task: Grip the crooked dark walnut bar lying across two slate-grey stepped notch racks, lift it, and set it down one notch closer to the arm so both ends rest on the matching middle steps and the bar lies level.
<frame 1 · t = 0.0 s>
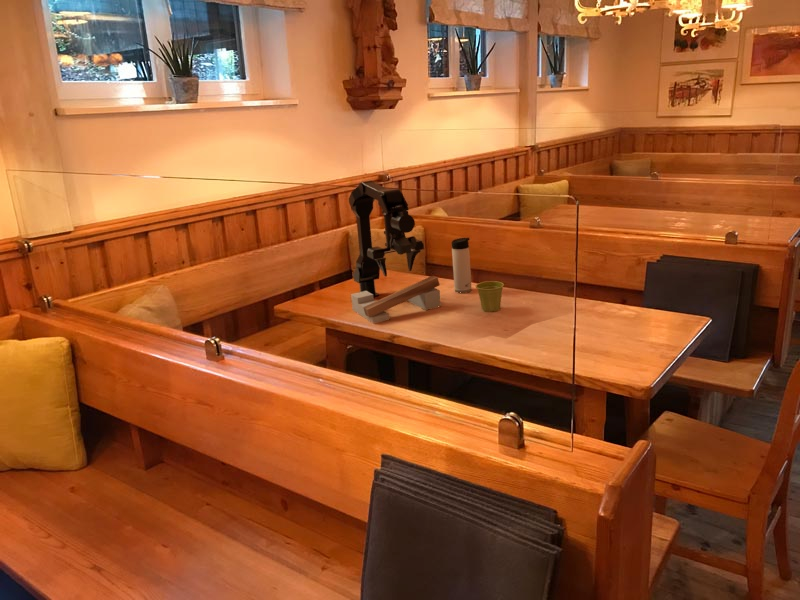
hand: (398, 273, 228), 15 cm above the table, tool pointing down, fingers open, 9 cm apart
notch rack 2: (421, 302, 243), on the table
walnut bar: (403, 299, 233), point 5 cm above the table, tilted 11°, touching notch rack 2, notch rack 1
travel mug: (463, 291, 252), on the table
notch rack 1: (370, 314, 235), on the table
plant pot: (490, 309, 229), on the table
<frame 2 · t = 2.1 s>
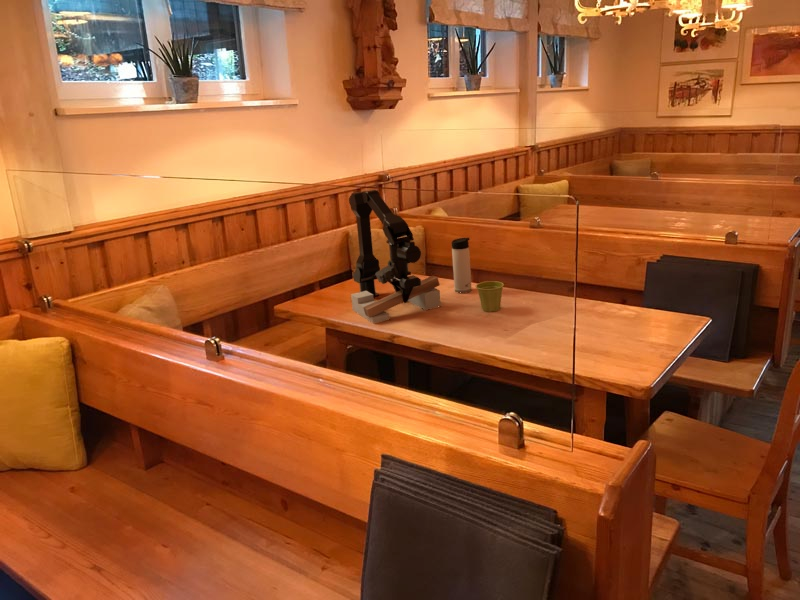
hand: (402, 301, 233), 4 cm above the table, tool pointing down, fingers closed on walnut bar, 3 cm apart
walnut bar: (403, 299, 233), point 5 cm above the table, tilted 11°, touching gripper, notch rack 2, notch rack 1
everything else where it was.
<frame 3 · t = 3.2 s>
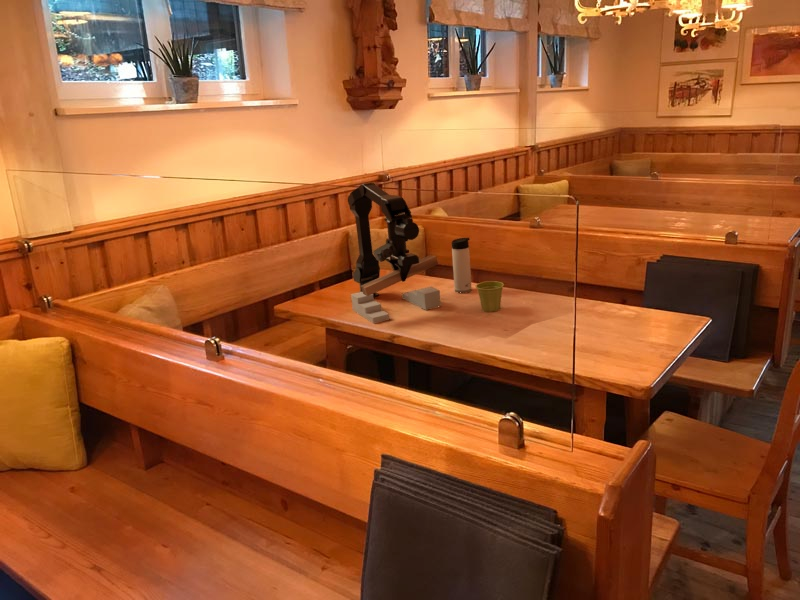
hand: (401, 280, 230), 12 cm above the table, tool pointing down, fingers closed on walnut bar, 3 cm apart
walnut bar: (401, 278, 230), point 12 cm above the table, tilted 11°, touching gripper
everything else where it was.
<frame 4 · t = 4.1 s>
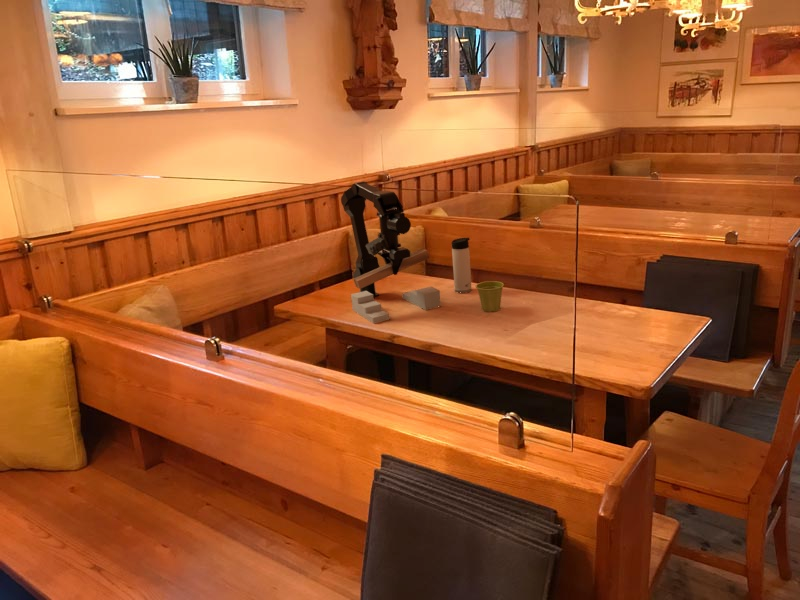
hand: (392, 273, 235), 13 cm above the table, tool pointing down, fingers closed on walnut bar, 3 cm apart
walnut bar: (393, 272, 235), point 13 cm above the table, tilted 11°, touching gripper
everything else where it was.
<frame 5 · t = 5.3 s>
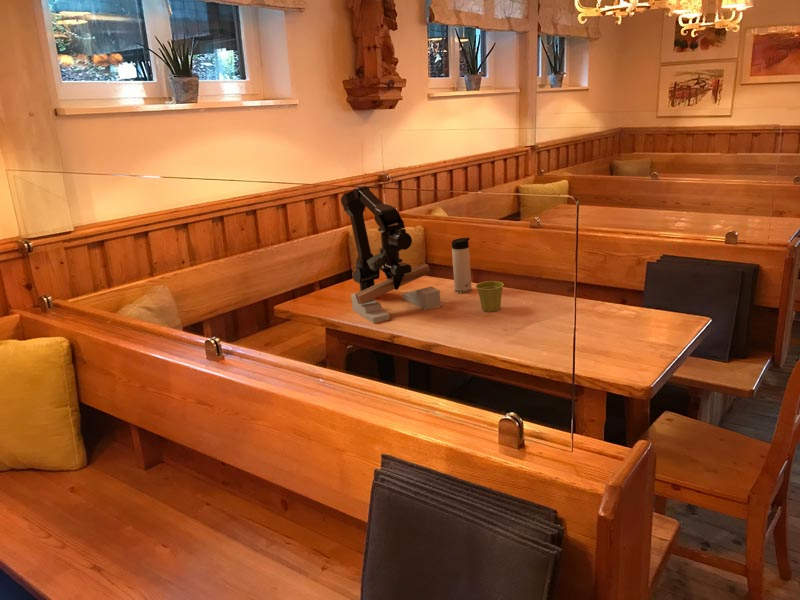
hand: (394, 288, 237), 7 cm above the table, tool pointing down, fingers closed on walnut bar, 3 cm apart
walnut bar: (394, 286, 237), point 8 cm above the table, tilted 11°, touching gripper
everything else where it was.
when the fingers open (6 cm above the table, at t = 6.2 s): walnut bar drops 3 cm, resting on notch rack 2, notch rack 1.
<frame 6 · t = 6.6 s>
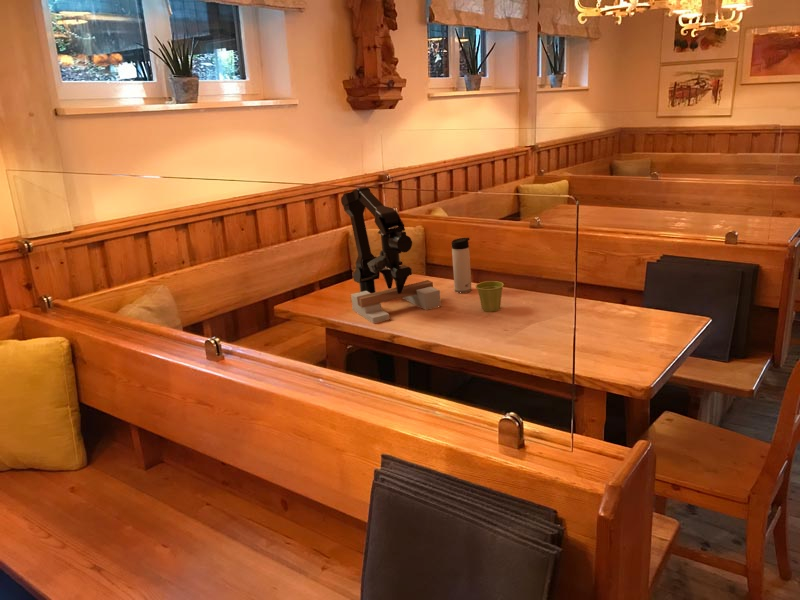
hand: (394, 290, 237), 6 cm above the table, tool pointing down, fingers open, 7 cm apart
walnut bar: (396, 297, 238), point 4 cm above the table, touching notch rack 2, notch rack 1
everything else where it was.
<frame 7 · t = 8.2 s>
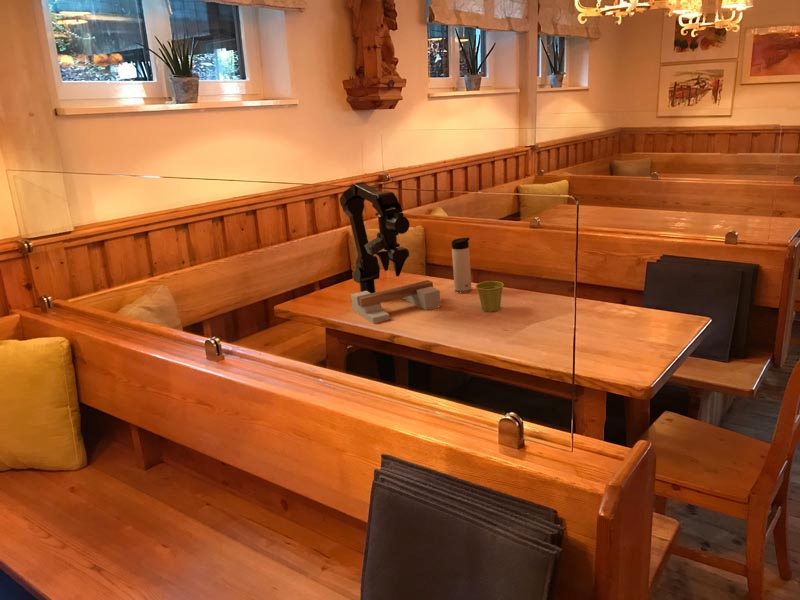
hand: (391, 273, 236), 13 cm above the table, tool pointing down, fingers open, 9 cm apart
nothing on the table moved.
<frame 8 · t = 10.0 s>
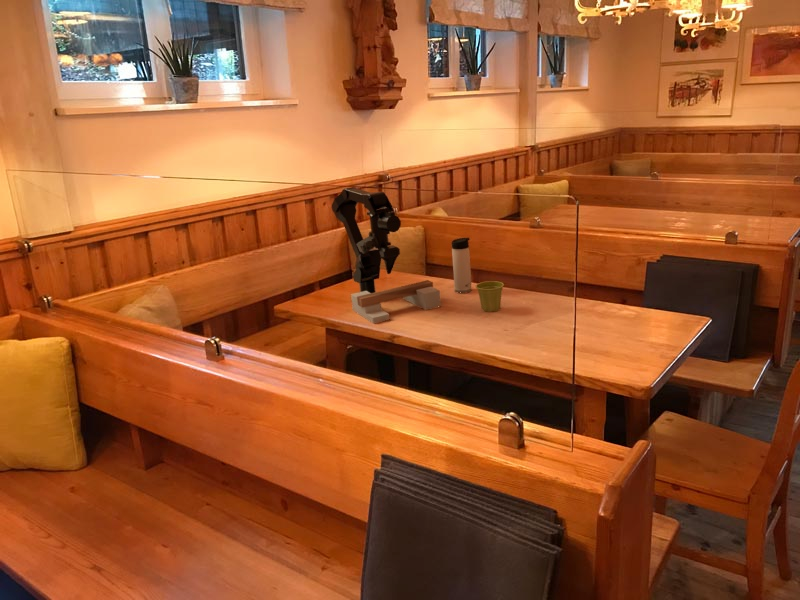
hand: (383, 271, 242), 12 cm above the table, tool pointing down, fingers open, 9 cm apart
nothing on the table moved.
at the end: walnut bar tilted 0°; walnut bar 0.4 cm from the target spot, point 4.0 cm above the table; the gripper is holding nothing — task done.
